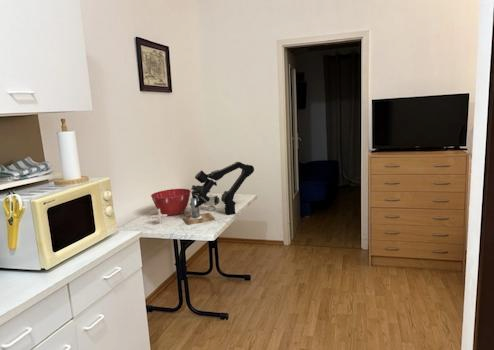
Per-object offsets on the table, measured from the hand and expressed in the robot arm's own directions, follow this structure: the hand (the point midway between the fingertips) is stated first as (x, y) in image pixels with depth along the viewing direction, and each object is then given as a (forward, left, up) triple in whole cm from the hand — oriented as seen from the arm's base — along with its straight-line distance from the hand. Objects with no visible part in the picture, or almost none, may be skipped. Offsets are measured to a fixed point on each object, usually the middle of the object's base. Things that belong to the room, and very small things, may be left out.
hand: (192, 206), depth 250 cm
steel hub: (-1, 0, -8) cm, 8 cm away
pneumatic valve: (-17, -19, -10) cm, 28 cm away
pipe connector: (+22, -7, -10) cm, 25 cm away
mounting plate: (-3, 0, -10) cm, 11 cm away
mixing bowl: (+10, -29, -10) cm, 32 cm away
